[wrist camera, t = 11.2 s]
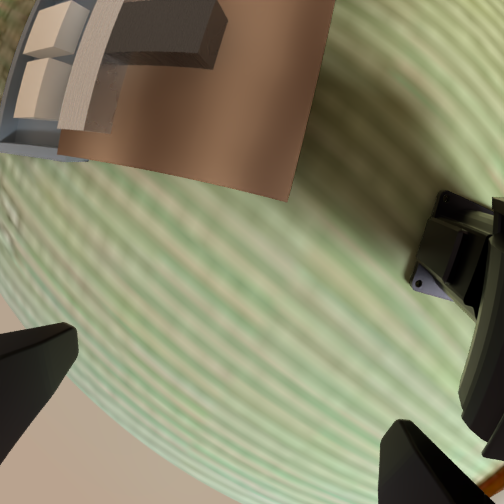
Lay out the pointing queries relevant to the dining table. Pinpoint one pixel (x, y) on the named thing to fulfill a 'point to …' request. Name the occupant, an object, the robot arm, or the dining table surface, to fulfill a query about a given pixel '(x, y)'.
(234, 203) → the dining table surface
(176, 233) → the dining table surface
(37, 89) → the tile
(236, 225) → the dining table surface
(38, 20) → the tile
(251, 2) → the plate
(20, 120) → the box
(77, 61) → the scraper
